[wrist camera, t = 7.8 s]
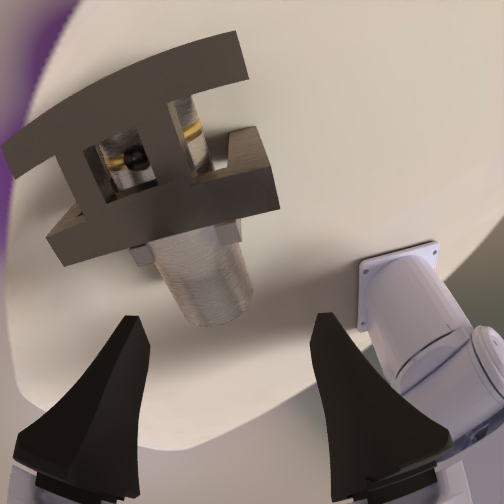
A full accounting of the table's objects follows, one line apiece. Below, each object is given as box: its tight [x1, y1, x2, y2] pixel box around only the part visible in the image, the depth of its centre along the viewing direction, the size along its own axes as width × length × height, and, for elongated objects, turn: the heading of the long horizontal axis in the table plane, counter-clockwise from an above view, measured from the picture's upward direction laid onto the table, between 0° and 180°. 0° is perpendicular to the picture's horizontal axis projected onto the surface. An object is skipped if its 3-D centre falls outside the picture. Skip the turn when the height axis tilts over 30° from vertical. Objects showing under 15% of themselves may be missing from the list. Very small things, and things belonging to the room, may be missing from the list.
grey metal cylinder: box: [98, 95, 253, 326], centre depth 15 cm, size 15×6×5 cm, turn 14°
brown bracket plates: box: [1, 30, 280, 267], centre depth 12 cm, size 7×11×7 cm, turn 104°
